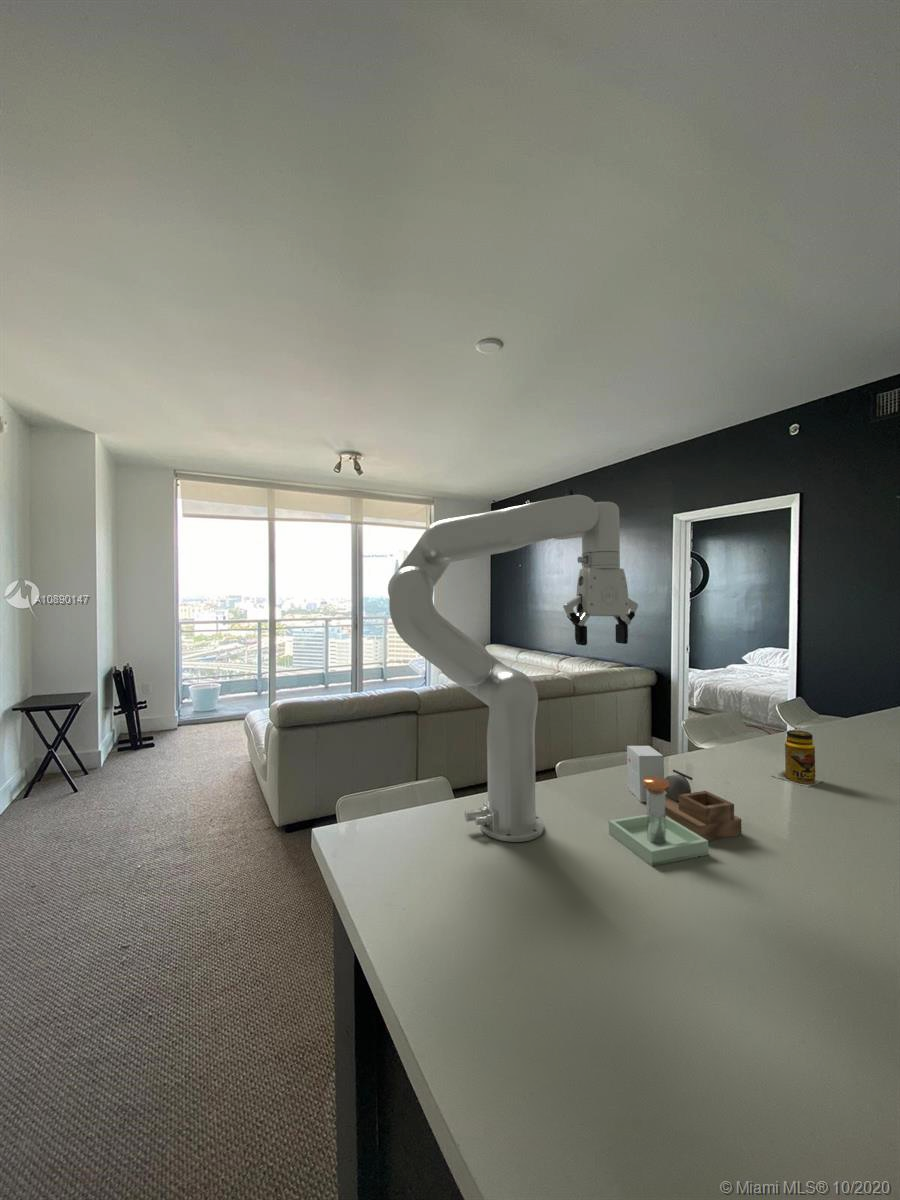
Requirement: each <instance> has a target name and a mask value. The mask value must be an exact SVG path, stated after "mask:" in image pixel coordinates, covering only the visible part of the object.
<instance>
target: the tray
mask: <svg viewBox="0 0 900 1200" xmlns="http://www.w3.org/2000/svg"><path fill="white" fill-rule="evenodd" d="M608 835H610V836H611V837H613V838H614V839H615V840H617V841H618V842H619V843H620V844H622V845H623V846H625V847H626V848H627V849H628V850H630V851H631V852H632V853H633V854H635V855H636V856H638V857H639V858H640V859H642V860H643V861H644V862H645V863H647V864H648V865H649V866H651V867H655V866H656V867H657V866H661V865H665V864H669V863H675V862H680V861H686V860H690V859H689V858H691V859H694V858H693V857H696V858H698V857H697V856H701V857H703V856H702V855H706V856H708V855H709V841H708V840H706V839H704V838H703V837H701V836H699V835H697V834H696V833H694V832H692V831H691V830H689V829H687V828H686V827H684V826H682V825H681V824H679V823H677V822H676V821H674V820H672V819H671V818H669V817H667V816H666V843H665V844H664V845H656V844H653V843H650V842H649V841H648V840H647V814H642V815H635V816H630V817H629V816H627V817H623V818H617V819H611V820H608ZM707 854H708V855H707ZM685 859H686V860H685Z"/></svg>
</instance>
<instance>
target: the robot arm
mask: <svg viewBox="0 0 900 1200" xmlns="http://www.w3.org/2000/svg"><path fill="white" fill-rule="evenodd" d="M578 538H580V539H581V556H577V563H580V564H581V567H582V568H581V569H580V570H579V571H578V572H579V573H578V577H577V585H576V596H575V597H574V598H572V599H571V600H568V601H567V602H566V603H563V606H562V607H563V610H564V611H565V613H566V616H567V618H568V620H569V621H570V622H571V623H572V625H573V626H574V640H575V644H576V645H578V646H587V645H588V626H587V625H585V624H586V623H587V621H588V620H589V618H590V617H613V618H614V620H615V621H616V622H617V624H615V643H617V644H623V645H624V644H625V645H627V644H628V642H629V626H630V624H631V623H632V620H633V619H634V617H635V616H636V615H635V614H636V613H637V611H638V607H639V604H638V603H637V602H636V601H634V600H632V599H630V598H629V592H628V591H629V590H628V582H627V578H626V574H625V569H624V568H621V554H620V553H621V549H620V548H621V546H620V507H619V506H618V504H617V503H615V502H612V501H597V502H596V501H594V500H593V499H592V498H591V497H589V496H586V495H584V494H583V495H582V494H572V495H565V496H559V497H555V498H549V499H548V498H547V499H544V500H539V501H535V502H530V503H526V504H522V505H515V506H510V507H506V508H501V509H497V510H491V511H486V512H481V513H473V514H468V515H462V516H457V517H450V518H445V519H441V520H437V521H435V522H433V523H432V524H430V525H429V526H428V527H427V528H426V530H425V531H424V532H423V533H422V535H421V537H420V538H419V539H418V541H417V543H416V544H415V546H414V547H413V548H412V549H411V551H410V552H409V554H408V555H407V556H406V558H405V559H404V560H403V562H401V564H400V565H399V567H398V568H397V569H396V571H395V572H394V573H393V575H392V576H391V578H390V580H389V581H388V584H387V586H388V587H387V594H388V597H389V600H388V601H389V603H388V604H389V605H388V607H389V615H390V618H391V622H392V625H393V627H394V628H395V629H394V630H395V631H396V633H397V634H398V636H399V637H400V638H401V640H403V642H404V643H405V644H406V645H407V646H409V647H410V648H411V649H412V650H413V651H415V652H416V653H417V654H419V655H420V656H422V658H424V659H425V660H426V661H428V662H429V663H431V664H432V665H434V667H436V668H437V669H438V670H440V671H441V672H442V674H443V675H444V676H445V677H446V678H448V679H449V680H450V681H452V682H454V683H456V684H457V685H458V686H460V687H461V688H462V689H464V690H466V691H467V692H468V693H470V694H471V695H473V697H475V698H476V699H478V700H479V701H481V702H482V703H484V704H485V705H487V707H489V709H488V710H489V714H488V720H487V721H488V722H487V729H486V730H487V731H486V750H487V751H486V752H487V754H486V755H487V759H486V760H487V801H483V805H482V806H483V807H479V809H476V810H474V809H473V810H467V811H466V810H465V811H464V820H465V822H467V823H468V822H474V824H475V825H476V826H480V829H481V831H482V832H483V833H484V834H485V835H486V836H488V837H490V838H492V839H495V840H497V841H500V842H501V841H503V842H507V843H508V842H509V843H522V842H523V843H524V842H529V841H531V840H534V839H537V838H538V837H540V836H541V835H542V834H543V833H544V828H545V824H544V820H542V818H541V817H540V816H539V815H538V814H536V812H537V811H536V749H535V748H536V744H535V743H536V741H535V738H536V737H535V734H536V732H535V731H536V721H537V720H536V719H537V712H538V706H539V696H538V690H537V687H536V685H535V683H534V682H533V681H532V679H531V678H530V676H528V675H527V674H525V673H524V672H522V671H519V670H518V669H515V668H513V667H509V666H508V665H506V664H505V663H503V662H502V661H500V660H498V658H496V657H494V655H492V654H490V653H489V651H488V650H487V649H486V647H485V646H484V645H483V644H482V643H480V642H479V641H477V640H475V639H473V638H472V637H470V636H469V635H467V634H466V633H465V632H463V631H461V629H458V628H457V627H456V626H455V625H453V624H452V623H451V622H450V621H448V620H447V619H446V618H445V617H443V616H442V615H441V614H440V612H438V610H437V609H436V607H435V604H434V598H433V597H434V589H435V586H436V584H437V583H438V582H439V581H440V579H441V578H442V576H443V574H444V573H445V572H446V571H447V569H448V567H449V566H450V564H451V563H454V562H459V561H465V560H470V559H475V558H480V557H481V558H482V557H485V556H491V555H497V554H501V553H507V552H512V551H514V550H518V549H520V548H524V547H526V546H529V545H532V544H536V543H539V542H544V541H547V540H552V539H554V540H570V539H578ZM575 607H576V609H575V610H576V612H575V610H574V608H575Z"/></svg>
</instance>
